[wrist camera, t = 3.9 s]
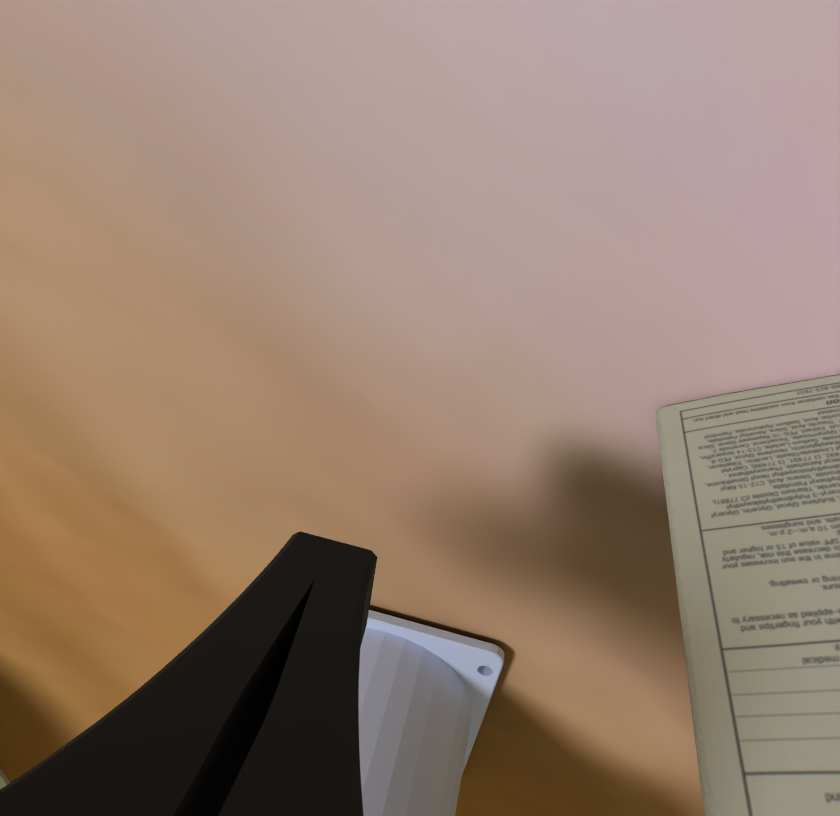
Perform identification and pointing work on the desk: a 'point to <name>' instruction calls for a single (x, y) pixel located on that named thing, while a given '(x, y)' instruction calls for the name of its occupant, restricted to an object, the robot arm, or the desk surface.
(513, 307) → the desk surface
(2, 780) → the portable electronic device stand
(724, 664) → the skincare box
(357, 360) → the desk surface
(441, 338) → the desk surface
